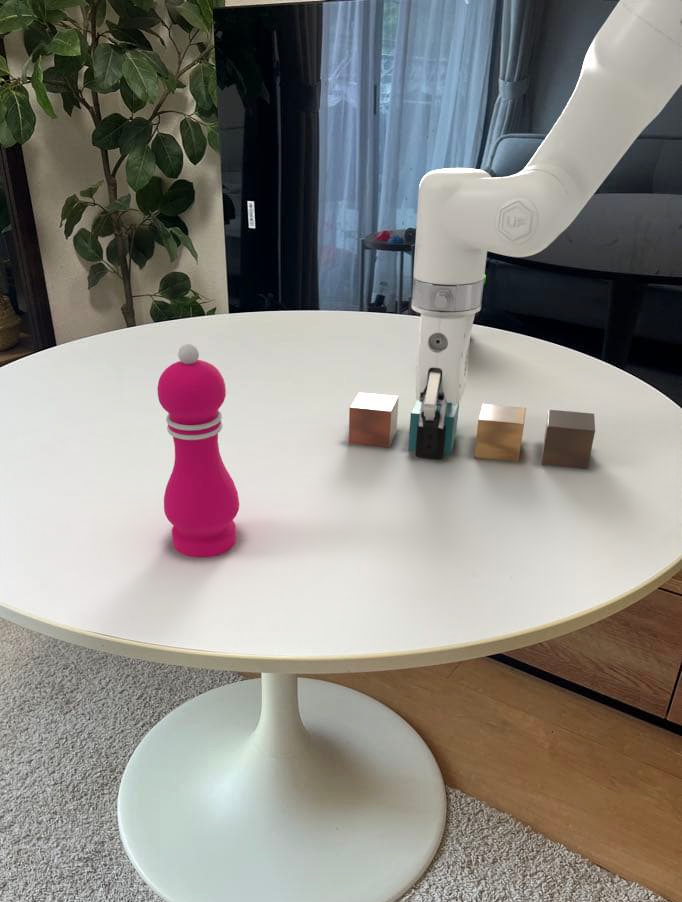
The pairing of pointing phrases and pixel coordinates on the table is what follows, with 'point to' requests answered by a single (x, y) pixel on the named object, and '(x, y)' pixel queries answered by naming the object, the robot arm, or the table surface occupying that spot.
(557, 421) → the walnut block
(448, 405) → the teal block
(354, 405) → the cherry block
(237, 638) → the table surface
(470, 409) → the table surface
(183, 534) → the pepper mill
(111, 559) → the table surface
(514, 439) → the oak block
